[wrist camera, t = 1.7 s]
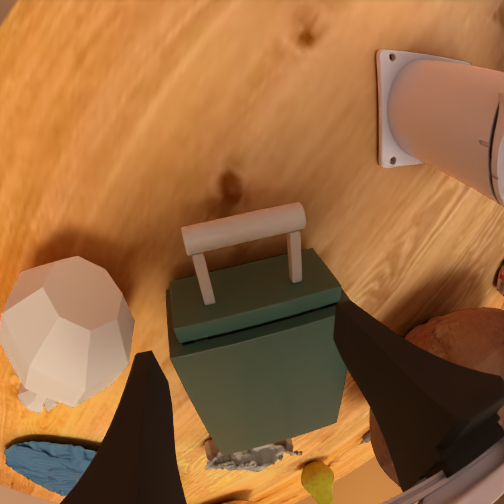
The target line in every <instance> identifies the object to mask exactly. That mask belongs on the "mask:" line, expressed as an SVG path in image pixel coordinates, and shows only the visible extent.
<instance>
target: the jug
mask: <svg viewBox="0 0 504 504" xmlns="http://www.w3.org/2000/svg"><path fill="white" fill-rule="evenodd" d="M404 339H406V340H408V341H409V342H411V343H413V344H414V345H416V346H418V347H420V348H422V349H424V350H426V351H428V352H430V353H432V354H434V355H436V356H438V357H440V358H443V359H445V360H448V361H450V362H453V363H455V364H458V365H461V366H464V367H467V368H470V369H473V370H477V371H480V372H485V373H489V374H494V375H499V376H501V377H502V378H503V380H504V310H501V309H496V308H485V307H482V308H471V309H465V310H461V311H456V312H452V313H449V314H446V315H444V316H435V317H433V318H431V319H430V320H428V322H427V323H425V324H421V325H418V326H416V327H415V328H414V329H412V330H411V331H410V332H409V333H408V334H407V335H406V336H405V338H404ZM497 414H498V415H499V416H500V420H499V421H498V423H499V424H500V426H501V425H502V424H503V423H504V405H503V406H502V407H501V409H500V410H499V411H498V412H497ZM370 438H371V444H372V447H373V450H374V453H375V456H376V459H377V461H378V463H379V465H380V466H381V468H382V469H383V470H384V472H385V473H386V474H387V475H388V476H389V477H390V478H391V479H392V480H393V481H394V482H395V483H396V484H397V485H398V486H400V485H399V481H398V478H397V474H396V471H395V468H394V465H393V461H392V459H391V456H390V453H389V450H388V448H387V445H386V442H385V440H384V437H383V435H382V432H381V430H380V427H379V425H378V423H377V421H376V418H375V416H374V414H373V412H372V409H371V407H370ZM493 504H504V494H503V495H502V496H501V497H500V498H498V499H497V500H496V501H495V502H494V503H493Z"/></svg>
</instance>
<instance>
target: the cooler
mask: <svg viewBox="0 0 504 504" xmlns="http://www.w3.org/2000/svg"><path fill="white" fill-rule="evenodd" d="M348 300H350V299H349V298H348V296H347V295H346V294H345V292H344V291H343V289H342V288H341V298H340V301H339V302H336V303H332V304H329V305H326V306H323V307H321V310H318V311H314V312H311V313H308V314H304V315H301V316H297V317H294V318H290V319H287V320H283V321H279V322H276V323H272V324H268V325H265V326H261V327H257V328H253V329H249V330H245V331H241V332H238V333H234V334H229V335H225V336H221V337H217V338H213V339H209V340H204V341H200V342H196V343H195V340H193V341H188V342H184V343H179V342H178V339H177V337H176V334H175V332H174V329H173V318H172V305H171V290H170V289H167V290H166V309H167V325H168V339H169V348H170V349H169V352H170V359H171V362H172V364H173V366H174V368H175V370H176V372H177V374H178V376H179V378H180V380H181V382H182V384H183V386H184V388H185V390H186V392H187V394H188V396H189V398H190V400H191V401H192V403H193V405H194V407H195V409H196V411H197V413H198V414H199V416H200V418H201V420H202V422H203V424H204V425H205V427H206V429H207V431H208V433H209V434H210V436H211V438H212V439H213V441H214V443H215V445H216V446H217V448H218V450H219V451H220V453H221V455H222V456H223V455H228V454H232V453H237V452H241V451H245V450H249V449H253V448H257V447H261V446H265V445H268V444H272V443H276V442H279V441H282V440H286V439H289V438H292V437H296V436H299V435H302V434H305V433H308V432H311V431H314V430H317V429H320V428H323V427H325V426H328V425H331V424H334V423H336V422H337V418H338V414H339V409H340V404H341V399H342V394H343V389H344V384H345V379H346V373H347V367H346V365H345V364H344V362H343V360H342V358H341V356H340V354H339V352H338V349H337V347H336V345H335V342H334V340H333V333H334V322H335V308H336V304H338V303H341V302H345V301H348Z"/></svg>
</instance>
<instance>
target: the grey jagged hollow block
mask: <svg viewBox="0 0 504 504" xmlns="http://www.w3.org/2000/svg"><path fill="white" fill-rule="evenodd" d="M204 445H205V450H206V455H207V459H208V461H207V465H206V468H205V470H208V469H212V468H213V469H217V468H221V469H224V468H226V469H227V470H229V471H231V470H243V469H244V470H249V471H253V472H259V471H261V470H263V469H265V468H267V467H268V466H270V465H271V464H273V465H274V464H275V461H276V460H278V459H279V460H282V458H283V453H284V452H286V453H288V454H290V455H291V456H292V455H295V454H296V455H299V456H300V455H302V451H300V452H298V451H297V450H296V451H294V452H293V444H292V440H291V438H289V439H286V440H282V441H279V442H276V443H272V444H268V445H265V446H261V447H257V448H253V449H249V450H245V451H241V452H237V453H232V454H228V455H223V456H222V455H221V453H220V451H219V450H218V448H217V446H216V445H215V443H214V441H213V439H212V440H208V441H206V442H205V443H204Z"/></svg>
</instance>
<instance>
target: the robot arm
mask: <svg viewBox="0 0 504 504" xmlns="http://www.w3.org/2000/svg"><path fill="white" fill-rule="evenodd" d="M390 54H391V56H392V59H391V60H390V59H389V55H390ZM376 59H377V75H378V99H379V164H380V166H382V167H384V168H392V167H399V166H407V165H414V164H422V163H426V164H428V165H430V166H432V167H434V168H436V169H438V170H440V171H442V172H444V173H446V174H448V175H450V176H451V177H453V178H455V179H457V180H459V181H461V182H462V183H464V184H466V185H468V186H470V187H471V188H473V189H475V190H477V191H478V192H480V193H482V194H483V195H485V196H487V197H488V198H490V199H492V200H493V201H495V202H497V203H498V204H500V205H502V206H503V207H504V72H501V71H497V70H492V69H487V68H482V67H476V66H472V64H471V63H470V62H466V61H461V60H456V59H451V58H446V57H440V56H434V55H428V54H421V53H414V52H406V51H398V50H388V49H380V50H379V51H378V52H377V55H376ZM392 157H393V160H392V162H390V160H391V158H392ZM333 340H334V342H335V345H336V347H337V349H338V352H339V354H340V356H341V358H342V360H343V362H344V364H345V365H346V367H347V369H348V370H349V372H350V374H351V375H352V377H353V379H354V380H355V382H356V384H357V385H358V387H359V388H360V390H361V392H362V393H363V395H364V397H365V398H366V400H367V402H368V404H369V406H370V407H371V409H372V412H373V414H374V416H375V418H376V421H377V423H378V425H379V427H380V430H381V432H382V435H383V437H384V440H385V442H386V445H387V448H388V450H389V453H390V456H391V459H392V461H393V465H394V468H395V471H396V474H397V478H398V481H399V485H400V487H401V489H402V491H403V493H401V494H399V495H397V496H395V497H393V498H391V499H389V500H387V501H385V502H383V503H381V504H414V503H416V502H417V501H419V500H420V501H419V502H418V503H417V504H493V503H494V502H495V501H496V500H497V499H498V498H500V497H501V496H502V495H503V494H504V423H503V424H502V425H501V426H500V424H499V423H498V421H499V420H500V416H499V415H498V414H497V412H498V411H499V410H500V409H501V407H502V406H503V405H504V380H503V378H502V377H501V376H499V375H494V374H489V373H485V372H480V371H477V370H473V369H470V368H467V367H464V366H461V365H458V364H455V363H453V362H450V361H448V360H445V359H443V358H440V357H438V356H436V355H434V354H432V353H430V352H428V351H426V350H424V349H422V348H420V347H418V346H416V345H414V344H413V343H411V342H409V341H408V340H406V339H404V338H403V337H401V336H400V335H398V334H397V333H395V332H394V331H392V330H391V329H389V328H388V327H386V326H385V325H383V324H382V323H380V322H379V321H378V320H376V319H375V318H374V317H372V316H371V315H369V314H368V313H367V312H365V311H364V310H363V309H361V308H360V307H359V306H357V305H356V304H355V303H353V302H352V301H350V300H348V301H345V302H341V303H338V304H336V308H335V322H334V333H333ZM60 504H187V503H186V500H185V496H184V492H183V488H182V484H181V480H180V475H179V471H178V466H177V460H176V453H175V440H174V426H173V412H172V402H171V396H170V390H169V384H168V381H167V379H166V377H165V375H164V373H163V371H162V369H161V368H160V366H159V364H158V362H157V360H156V358H155V356H154V354H153V352H152V351H147V352H142V353H137V354H136V355H135V358H134V361H133V364H132V368H131V371H130V374H129V377H128V380H127V383H126V386H125V389H124V392H123V394H122V397H121V400H120V403H119V405H118V408H117V410H116V413H115V415H114V417H113V420H112V422H111V425H110V427H109V429H108V431H107V433H106V435H105V437H104V439H103V441H102V443H101V445H100V447H99V449H98V451H97V452H96V454H95V456H94V458H93V459H92V461H91V463H90V464H89V466H88V467H87V469H86V470H85V472H84V473H83V475H82V476H81V478H80V479H79V481H78V482H77V483H76V485H75V486H74V487H73V489H72V490H71V491H70V492H69V493H68V495H67V496H66V497H65V498H64V499H63V501H62V502H61V503H60Z"/></svg>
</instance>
